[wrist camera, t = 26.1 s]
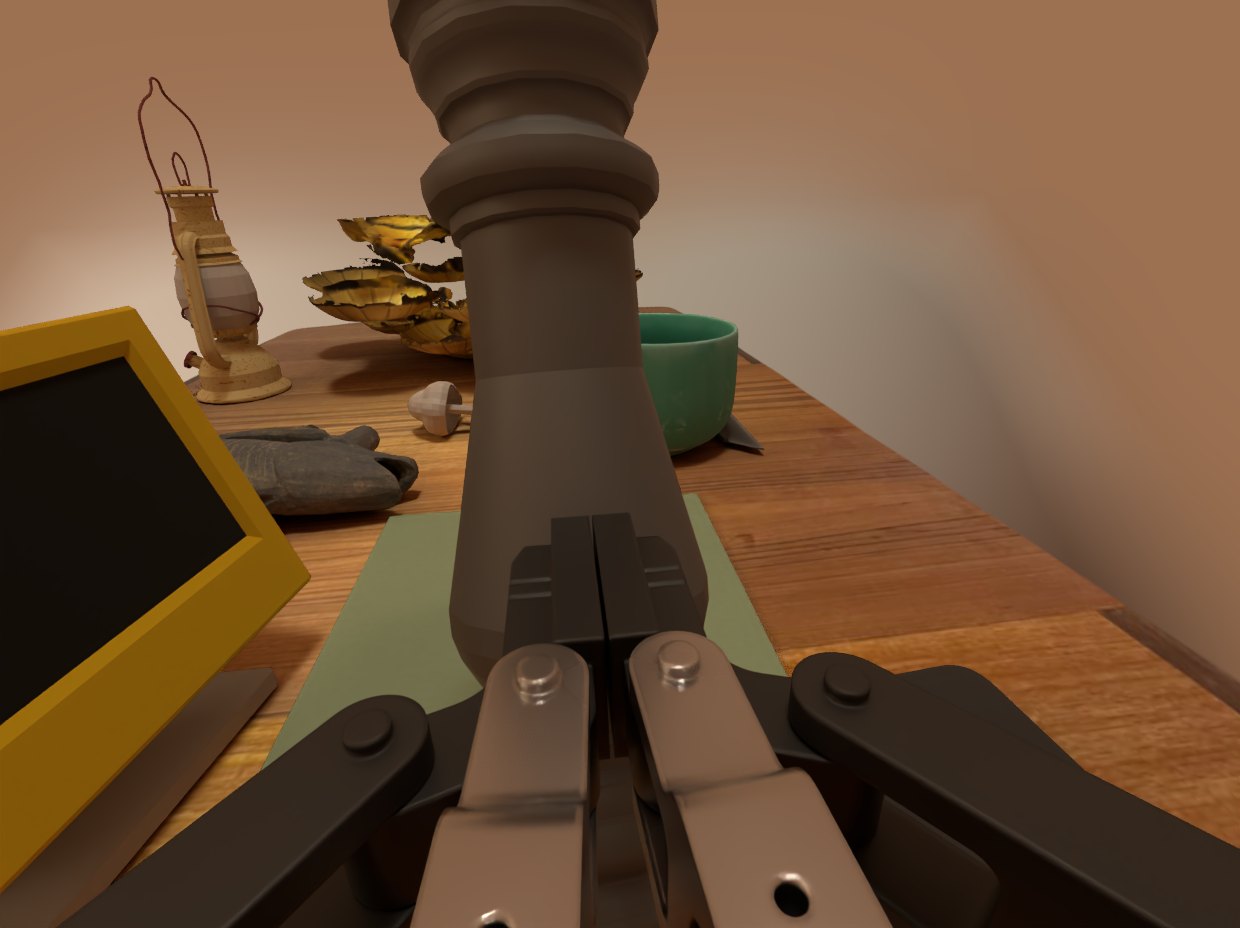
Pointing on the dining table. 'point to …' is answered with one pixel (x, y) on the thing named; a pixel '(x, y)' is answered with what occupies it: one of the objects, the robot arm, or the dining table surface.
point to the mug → (689, 374)
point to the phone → (985, 703)
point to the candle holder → (549, 315)
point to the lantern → (216, 296)
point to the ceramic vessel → (320, 470)
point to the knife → (738, 434)
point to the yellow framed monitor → (115, 603)
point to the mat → (421, 632)
